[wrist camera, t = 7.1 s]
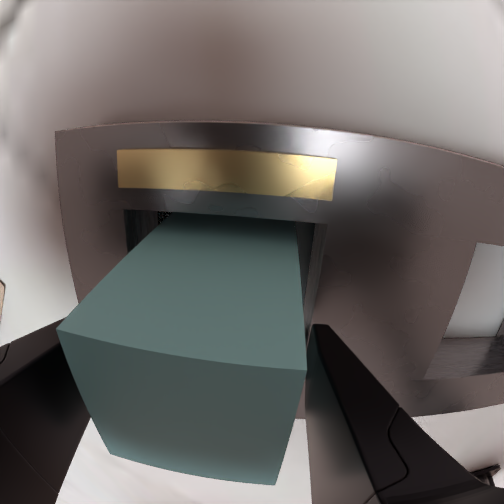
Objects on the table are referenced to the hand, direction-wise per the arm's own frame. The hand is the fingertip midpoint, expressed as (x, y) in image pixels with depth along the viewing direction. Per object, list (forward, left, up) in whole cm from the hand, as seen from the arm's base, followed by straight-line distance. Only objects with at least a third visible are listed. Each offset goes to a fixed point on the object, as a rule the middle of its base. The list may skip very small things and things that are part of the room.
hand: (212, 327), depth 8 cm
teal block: (0, 0, -4) cm, 4 cm away
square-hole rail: (-5, 0, -4) cm, 6 cm away
